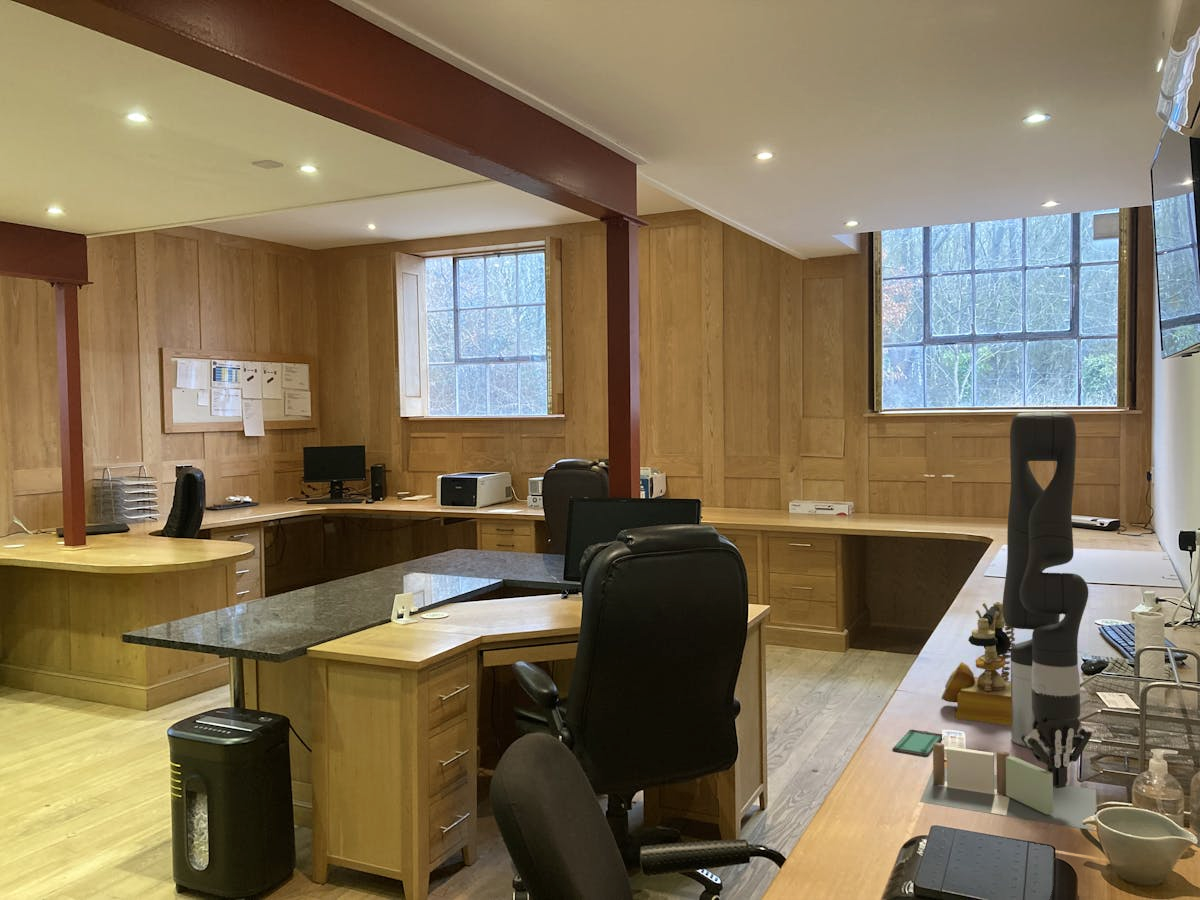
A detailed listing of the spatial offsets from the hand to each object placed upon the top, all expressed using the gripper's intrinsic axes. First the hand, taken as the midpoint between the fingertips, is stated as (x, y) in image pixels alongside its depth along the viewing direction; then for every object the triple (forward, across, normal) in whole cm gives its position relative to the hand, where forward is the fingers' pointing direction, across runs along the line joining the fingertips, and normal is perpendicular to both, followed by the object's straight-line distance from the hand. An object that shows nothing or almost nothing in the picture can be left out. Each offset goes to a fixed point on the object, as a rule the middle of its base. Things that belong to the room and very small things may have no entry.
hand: (1057, 786), depth 159 cm
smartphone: (+5, +4, -36) cm, 37 cm away
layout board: (+4, +4, -8) cm, 10 cm away
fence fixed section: (+4, +8, -12) cm, 15 cm away
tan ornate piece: (+6, -26, -55) cm, 61 cm away
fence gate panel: (+4, +4, -3) cm, 6 cm away
